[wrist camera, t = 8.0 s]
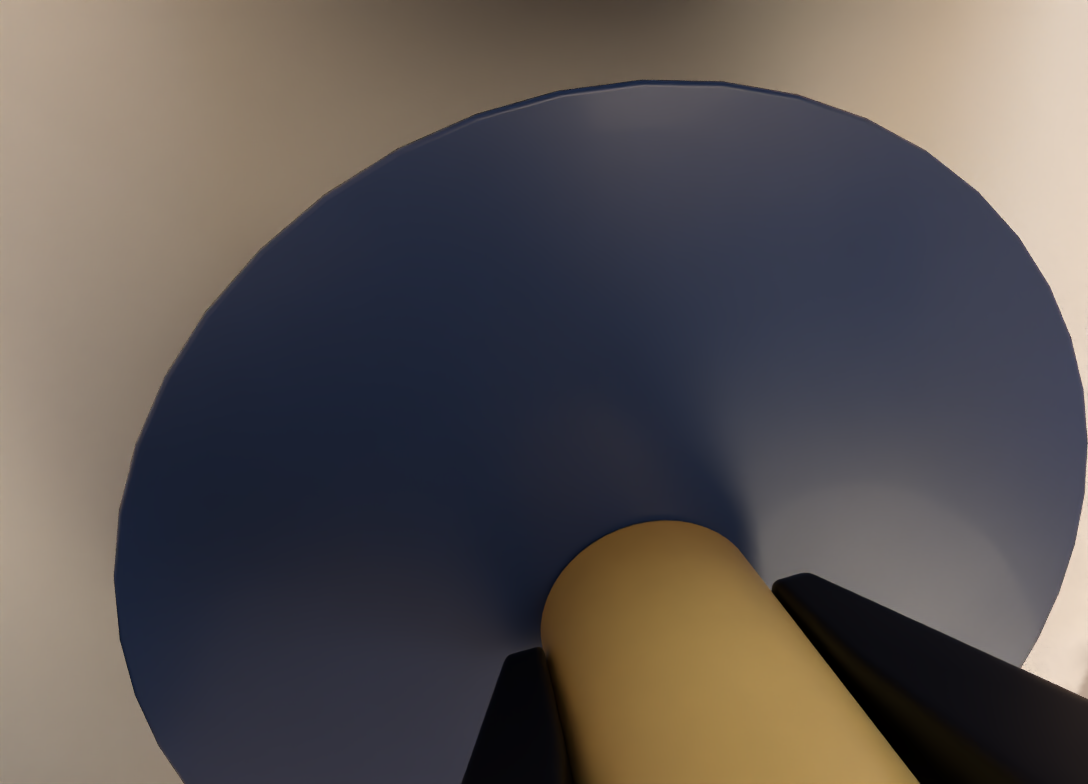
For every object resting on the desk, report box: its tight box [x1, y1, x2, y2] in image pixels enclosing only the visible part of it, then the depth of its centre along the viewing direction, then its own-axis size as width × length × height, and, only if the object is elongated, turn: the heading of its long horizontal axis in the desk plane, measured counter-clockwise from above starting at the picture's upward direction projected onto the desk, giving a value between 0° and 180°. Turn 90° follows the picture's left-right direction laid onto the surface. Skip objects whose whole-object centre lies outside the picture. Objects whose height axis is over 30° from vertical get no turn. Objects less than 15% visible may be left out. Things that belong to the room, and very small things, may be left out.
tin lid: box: [114, 80, 1088, 784], centre depth 6 cm, size 11×11×5 cm
